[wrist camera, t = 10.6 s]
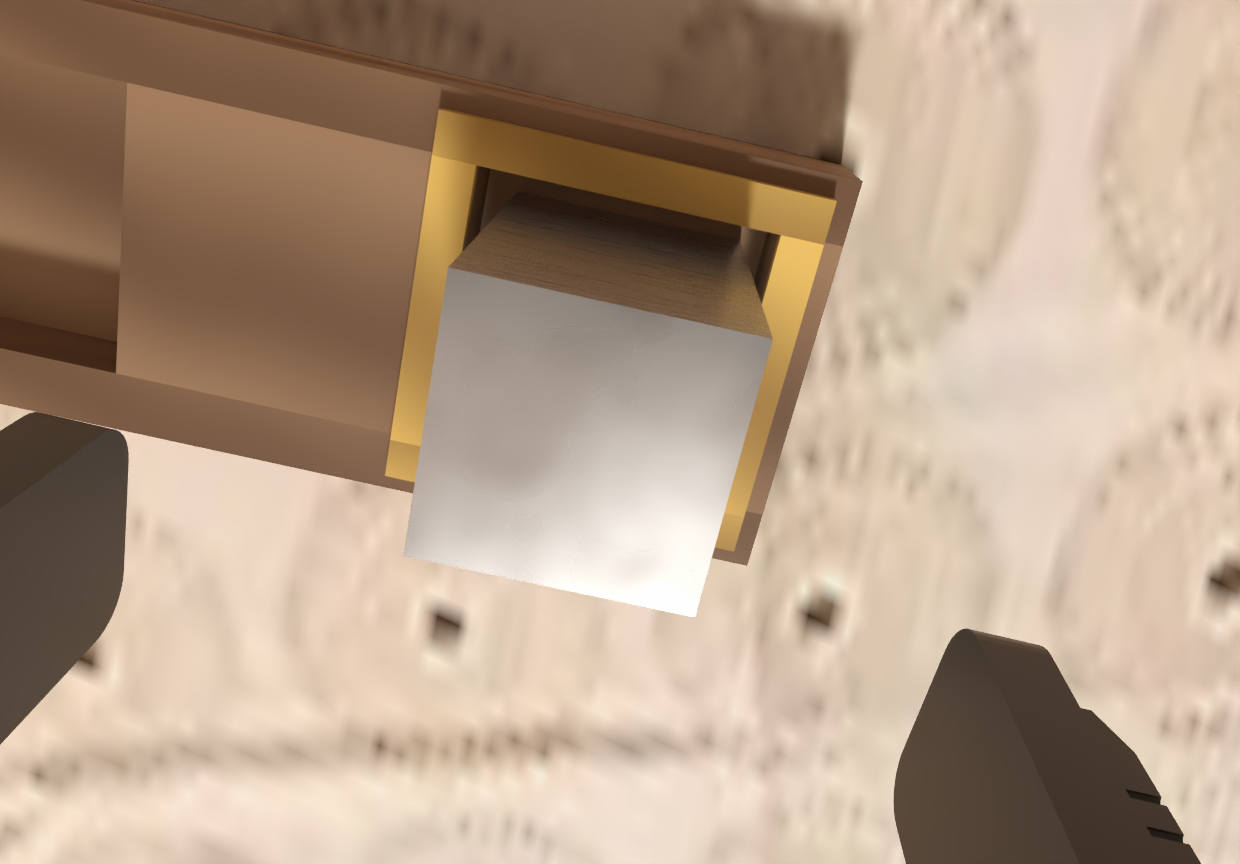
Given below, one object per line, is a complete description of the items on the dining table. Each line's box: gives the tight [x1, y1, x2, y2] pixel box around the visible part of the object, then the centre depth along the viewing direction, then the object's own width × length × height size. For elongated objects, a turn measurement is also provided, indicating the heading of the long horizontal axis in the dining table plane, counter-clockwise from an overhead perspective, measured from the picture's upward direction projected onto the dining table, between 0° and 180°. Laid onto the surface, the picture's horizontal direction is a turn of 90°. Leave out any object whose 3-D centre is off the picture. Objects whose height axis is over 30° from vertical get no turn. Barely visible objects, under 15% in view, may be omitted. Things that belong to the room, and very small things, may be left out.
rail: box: [0, 0, 863, 565], centre depth 21 cm, size 8×20×3 cm, turn 78°
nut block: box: [404, 191, 773, 617], centre depth 18 cm, size 4×4×7 cm
